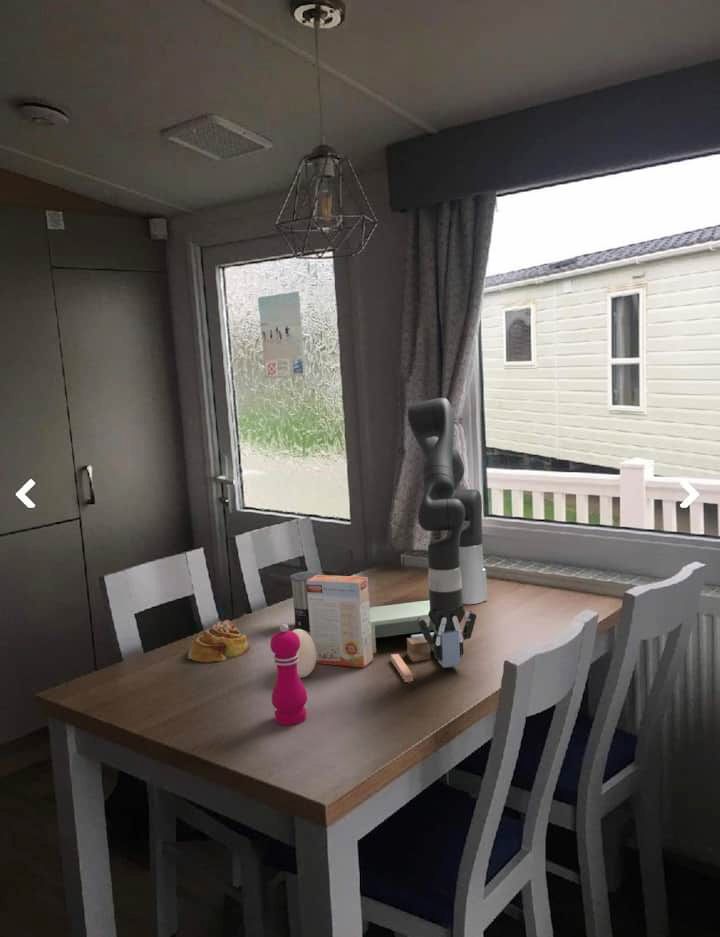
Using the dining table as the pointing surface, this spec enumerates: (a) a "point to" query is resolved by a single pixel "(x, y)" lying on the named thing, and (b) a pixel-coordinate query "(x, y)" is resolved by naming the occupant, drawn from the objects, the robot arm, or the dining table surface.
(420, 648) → the walnut cube
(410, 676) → the straight stick
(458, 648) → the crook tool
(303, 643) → the egg
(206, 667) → the dining table surface
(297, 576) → the milk frother
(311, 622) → the cracker box
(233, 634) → the pastry
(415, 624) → the cubby
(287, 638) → the pepper mill
